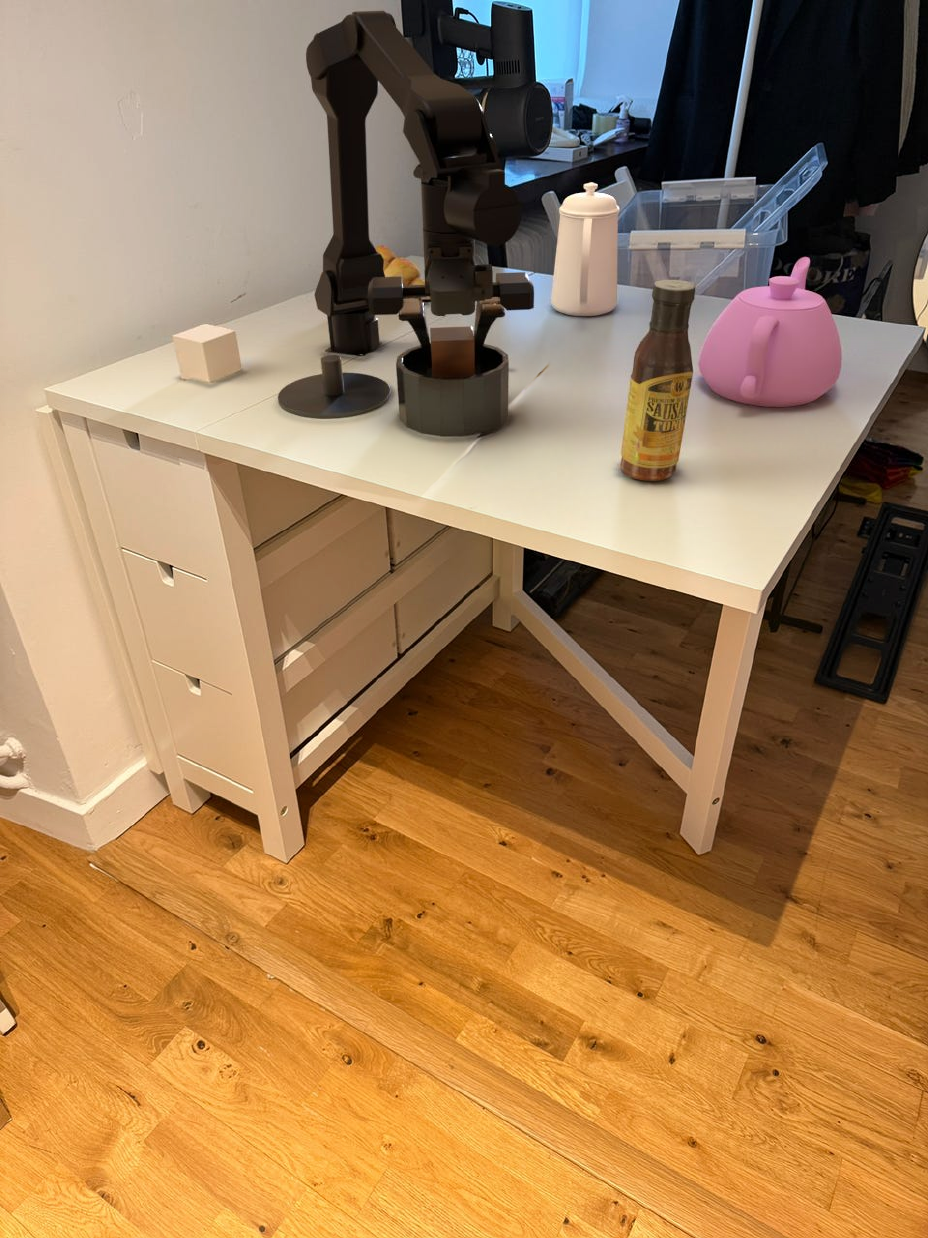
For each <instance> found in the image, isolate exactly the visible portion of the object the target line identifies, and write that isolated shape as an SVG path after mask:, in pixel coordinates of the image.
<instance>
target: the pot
mask: <svg viewBox="0 0 928 1238" xmlns="http://www.w3.org/2000/svg"><path fill="white" fill-rule="evenodd" d="M430 345H431V342H430ZM396 358H397V359H396V362H395V367H396V368H395V369H396V385H397V398H398V399H397V400H398V414H399V415H398V416H399V420H400V422H401V423H402V424H403V425H404V426H405V427H406V429H407V428H408V429H410V430H413V431H415V432H417V433H420V434H423V435H429V436H435V437H443V438H444V437H445V438H447V437H452V438H453V437H468V436H474V435H478V436H476V439H478V438H482V437H483V438H484V437H486V436H490V435H492V434H494V433H496V432H498V431H499V430H501V429H502V428H503V427H504V426H505V425H506V424H507V422H508V420H509V419H508V418H509V381H510V380H509V375H510V373H509V369H510V364H509V363H510V362H509V354H508V353H506V352H505V351H503V350H502V349H501V348H500V347H497V346H494V345H490V344H487V343H484V345H483V348H482V351H481V354H480V357H479V360H478V364H477V366H476V367H475V375H473V376H467V377H451V378H440V377H432V368H429V366H428V364H427V361H426V358H425V356H424V353H423V350H422V348H421V345H420V344H419V345H417V346H414V347H411V348H408V349H406V350H405V351H403V352H402V353H400V354H399V355H397V357H396Z"/></svg>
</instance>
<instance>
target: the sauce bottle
mask: <svg viewBox="0 0 928 1238" xmlns="http://www.w3.org/2000/svg"><path fill="white" fill-rule="evenodd" d="M695 295H696V285H695V284H694V282H690V281H686V280H680V279H661V280H658V281H655V282H654V284H653V287H652V292H651V297H652V301H653V303H652V310H651V317H650V321H649V325H648V326H649V330H648V332H647V333H646V335H645V336H643V338H642V339H641V340H640V341H639V343H638V346H637V348H636V350H635V352H634V356H633V366H632V371H631V375H630V379H629V388H628V395H627V403H626V411H625V418H624V427H623V433H622V442H621V449H620V450H621V451H620V455H621V459H620V469H621V471H622V472H623V473H624V474H625V475H626V476H627V477H629V478H631V479H636V480H640V481H647V482H655V481H656V482H659V481H664V480H666V479H667V478H670V477H672V476H673V475H674V474H675V472H676V470H677V464H678V463H679V459H680V454H681V447H682V443H683V437H684V430H685V424H686V418H687V413H688V412H687V411H688V405H689V400H690V394H691V387H692V383H693V382H692V381H693V378H694V377H693V376H694V367H693V358H692V347H691V343H690V340H689V328H690V324H689V321H690V316H691V309H692V305H693V303H694V301H695V297H696V296H695Z"/></svg>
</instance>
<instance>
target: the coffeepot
mask: <svg viewBox="0 0 928 1238" xmlns="http://www.w3.org/2000/svg"><path fill="white" fill-rule="evenodd" d="M583 189H584V190H585V192H579V193H574V194H571V195H569V196H567V197H566V198H565V199H564V200H563V202H562V205H561V206H560V207H559V208H558V210H559V211H558V212H559V223H558V233H557V241H556V250H555V259H554V268H553V276H552V277H553V278H552V286H551V293H550V294H551V295H550V304H551V307H552V308H553V309H554V310H555V311H557V312H559V313H561V314H564V315H568V316H574V317H595V316H602V315H605V314H607V313H610V312H612V311H613V310H614V309H615V308H616V306H617V303H618V244H619V243H618V236H619V233H618V231H619V226H618V225H619V222H618V221H619V214H620V207H619V206H618V205H617V201H616V199H615V198H614V197H613V196H611V195H609V194H606V193H601V192H595V191H596V190H597V189H598V184H597V183H595V182H591V181H590V182H588V183H584V184H583Z"/></svg>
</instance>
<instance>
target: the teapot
mask: <svg viewBox="0 0 928 1238" xmlns="http://www.w3.org/2000/svg"><path fill="white" fill-rule="evenodd" d="M810 265H811V259H810V257H807V256H803V257H800V258H799V259H798V260H797V261H796V263H795V264H794V266H793V268H792V272H791V274H790V276H785V275H784V276H783V275H779V276H773V277H771V278H769V279H768V285H767V286H764V285H763V286H756V287H750V288H747V289H744V290H742V291H740V292H739V293H738V294H736V296H734V298H733V299H732V300H731V301H730V302H729V303H728V305H727V306H726V307H725V308H724V310H722V312H721V314H719V316H718V317H717V319H716V320H715V322H714V323H713V324H712V326H711V328H710V329H709V331H708V333H707V335H706V337H705V339H704V341H703V344H702V347H701V350H700V353H699V358H698V363H697V365H698V369H699V373H700V375H701V376H702V378H703V380H704V382H705V383H706V384H707V385H708V387H709V388H710V389H711V391H713V392H714V393H715V394H717V395H719V396H720V397H723V398H725V399H726V400H727V399H728V400H731V401H733V402H736V403H741V404H745V405H750V406H758V407H766V408H767V407H768V408H788V407H797V406H802V405H806V404H809V403H812V402H815V401H816V400H818V399H819V398H820V397H821V396H823V395H825V394H826V393H827V392H828V391H829V390H830V389H831V388H833V387H834V386H835V384H836V383H837V381H838V380H839V378H840V374H841V369H842V359H843V358H842V344H841V339H840V333H839V331H838V327H837V324H836V322H835V320H834V316H833V313H832V311H831V309H830V307H829V305H828V303H827V301H826V299H825V298H823V296H822V295H820V294H818V293H816V292H813V291H810V290H808V289H806V280H807V275H808V271H809V268H810Z"/></svg>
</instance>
